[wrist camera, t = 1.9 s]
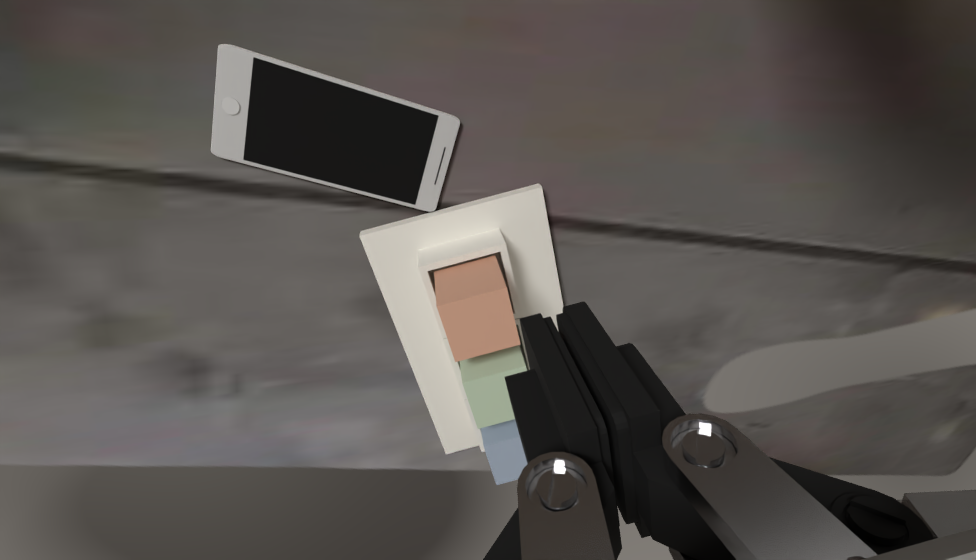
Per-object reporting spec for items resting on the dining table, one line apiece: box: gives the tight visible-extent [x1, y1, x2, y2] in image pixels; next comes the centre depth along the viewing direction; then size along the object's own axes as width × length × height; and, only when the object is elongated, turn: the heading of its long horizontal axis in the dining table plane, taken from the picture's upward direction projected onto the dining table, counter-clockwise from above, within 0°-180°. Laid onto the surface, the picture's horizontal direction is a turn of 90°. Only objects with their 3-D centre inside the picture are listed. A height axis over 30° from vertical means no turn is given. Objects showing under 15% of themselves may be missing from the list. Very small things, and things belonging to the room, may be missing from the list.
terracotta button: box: [434, 255, 520, 362], centre depth 33 cm, size 5×5×5 cm
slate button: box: [481, 419, 527, 485], centre depth 39 cm, size 5×5×5 cm
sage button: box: [459, 345, 527, 429], centre depth 36 cm, size 5×5×5 cm
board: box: [360, 183, 563, 454], centre depth 39 cm, size 14×24×4 cm, turn 13°
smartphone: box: [211, 44, 460, 212], centre depth 32 cm, size 7×16×1 cm, turn 72°
